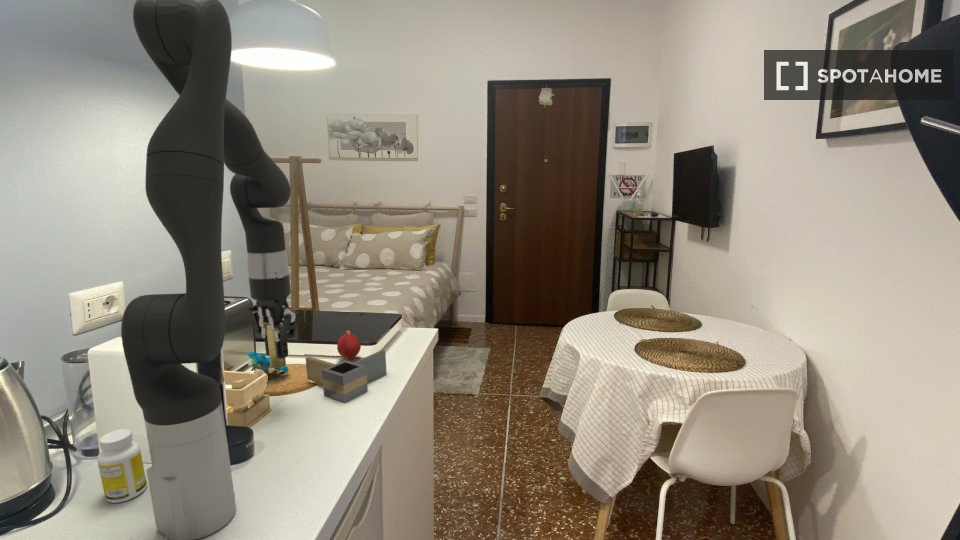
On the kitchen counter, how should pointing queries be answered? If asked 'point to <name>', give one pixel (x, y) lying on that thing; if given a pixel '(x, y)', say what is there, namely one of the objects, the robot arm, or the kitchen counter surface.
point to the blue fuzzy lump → (262, 362)
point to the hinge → (346, 375)
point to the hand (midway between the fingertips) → (277, 355)
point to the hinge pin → (274, 349)
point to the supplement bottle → (121, 466)
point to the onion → (348, 346)
